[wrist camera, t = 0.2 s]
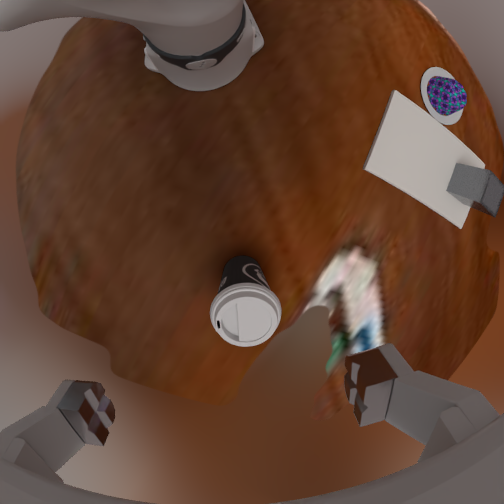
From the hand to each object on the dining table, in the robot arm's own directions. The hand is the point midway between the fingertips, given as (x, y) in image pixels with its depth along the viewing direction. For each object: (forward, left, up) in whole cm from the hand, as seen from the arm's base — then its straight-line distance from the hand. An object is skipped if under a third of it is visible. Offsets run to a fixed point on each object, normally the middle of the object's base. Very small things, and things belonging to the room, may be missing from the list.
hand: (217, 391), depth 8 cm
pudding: (-14, +43, -40) cm, 60 cm away
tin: (+4, +46, -38) cm, 60 cm away
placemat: (0, +39, -39) cm, 55 cm away
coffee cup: (+15, 0, -39) cm, 42 cm away
